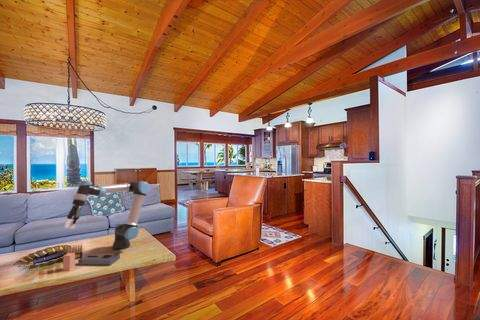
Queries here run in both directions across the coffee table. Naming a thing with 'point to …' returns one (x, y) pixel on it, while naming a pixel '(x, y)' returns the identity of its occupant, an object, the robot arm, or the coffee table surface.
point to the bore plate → (99, 259)
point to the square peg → (69, 261)
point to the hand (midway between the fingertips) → (68, 228)
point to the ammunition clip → (79, 253)
